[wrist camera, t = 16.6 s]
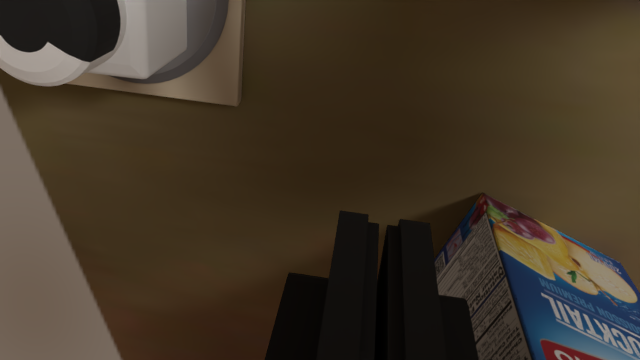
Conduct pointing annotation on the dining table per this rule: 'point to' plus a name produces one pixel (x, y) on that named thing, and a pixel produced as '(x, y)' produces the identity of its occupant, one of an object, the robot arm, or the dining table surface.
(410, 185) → the dining table surface
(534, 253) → the juice carton
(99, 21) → the medicine bottle
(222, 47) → the board
